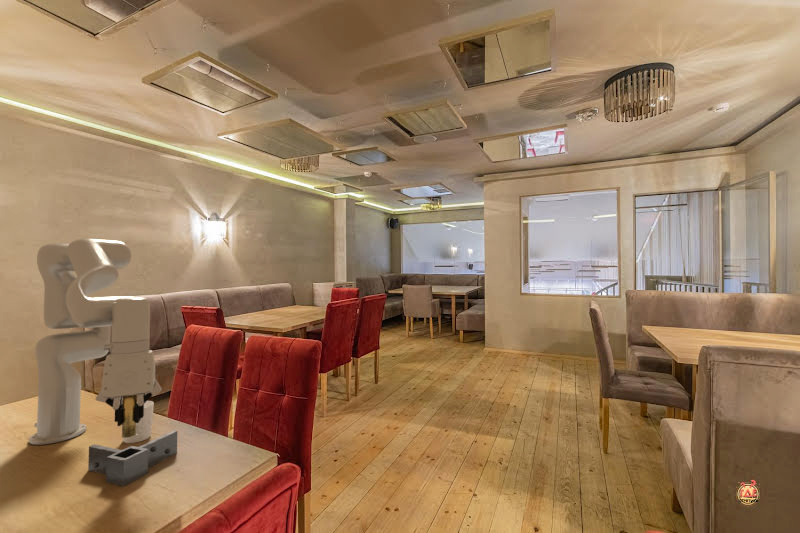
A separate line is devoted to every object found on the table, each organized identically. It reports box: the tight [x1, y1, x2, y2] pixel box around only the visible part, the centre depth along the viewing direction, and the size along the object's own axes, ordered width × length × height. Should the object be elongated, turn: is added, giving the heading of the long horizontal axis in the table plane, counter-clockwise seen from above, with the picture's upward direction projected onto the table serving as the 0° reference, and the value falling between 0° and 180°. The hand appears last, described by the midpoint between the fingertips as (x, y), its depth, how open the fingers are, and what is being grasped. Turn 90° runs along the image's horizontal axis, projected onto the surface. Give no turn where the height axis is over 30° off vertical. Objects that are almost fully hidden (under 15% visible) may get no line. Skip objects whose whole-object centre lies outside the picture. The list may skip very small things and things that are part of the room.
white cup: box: [122, 400, 155, 444], centre depth 106 cm, size 8×8×10 cm
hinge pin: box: [121, 395, 138, 438], centre depth 85 cm, size 4×4×13 cm
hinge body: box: [87, 430, 178, 487], centre depth 91 cm, size 16×16×6 cm
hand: (129, 421), depth 85 cm, fingers closed on hinge pin, 2 cm apart
